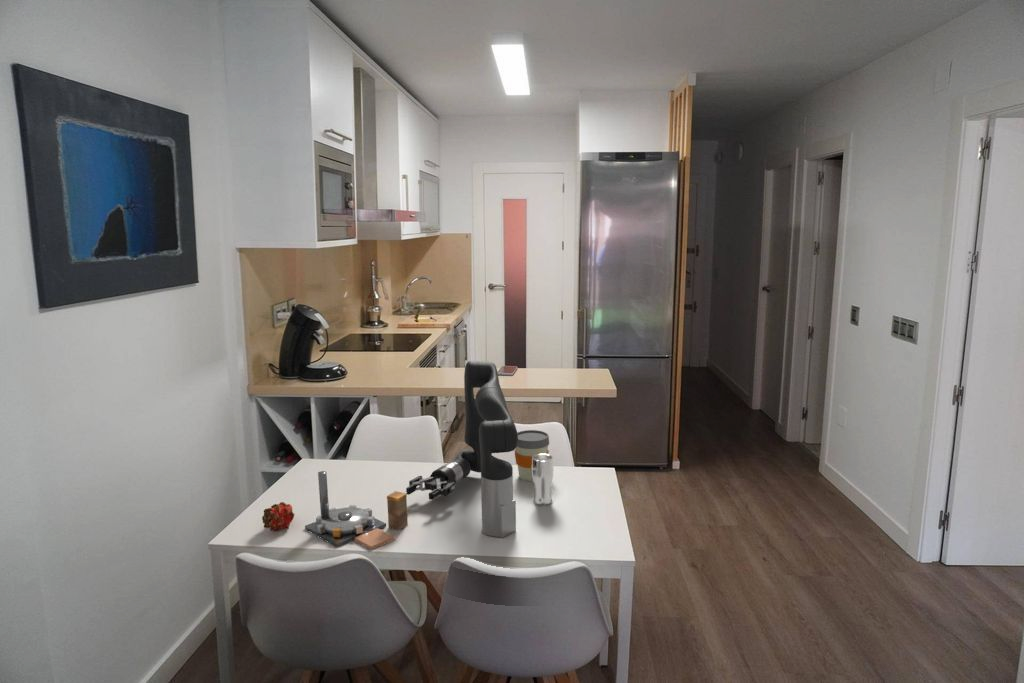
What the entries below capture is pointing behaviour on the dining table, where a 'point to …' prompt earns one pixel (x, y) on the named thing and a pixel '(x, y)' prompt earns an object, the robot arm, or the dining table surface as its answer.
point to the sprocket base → (345, 537)
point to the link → (397, 510)
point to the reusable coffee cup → (529, 450)
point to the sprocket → (340, 514)
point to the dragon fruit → (278, 516)
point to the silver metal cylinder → (542, 478)
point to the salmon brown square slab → (374, 538)
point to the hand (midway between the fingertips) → (418, 494)
